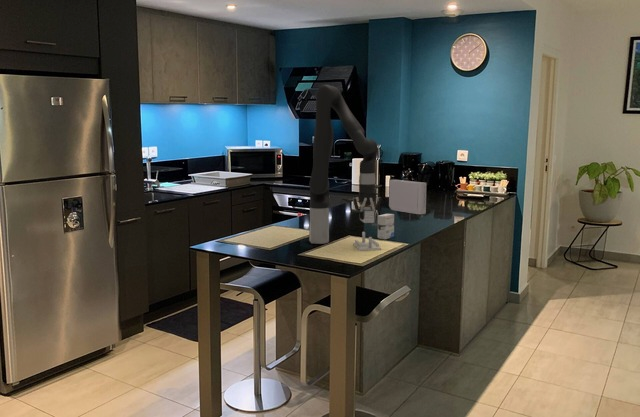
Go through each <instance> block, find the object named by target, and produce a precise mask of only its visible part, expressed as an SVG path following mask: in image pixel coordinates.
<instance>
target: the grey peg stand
mask: <svg viewBox="0 0 640 417" xmlns="http://www.w3.org/2000/svg"><path fill="white" fill-rule="evenodd" d="M361 233H362V234H361V235H362V236H361V241H359V240H357V239H355V240H354V241H353V243H352V244H353V246H354V247H355V248H356V249H357V250H358V251H364V252H365V251H382V247H381V246H380V243H378V241H377V240H375V239H373V237H372V236H368V241H366V231H362V232H361Z"/></svg>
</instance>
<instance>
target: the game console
mask: <svg viewBox="0 0 640 417" xmlns="http://www.w3.org/2000/svg"><path fill="white" fill-rule="evenodd" d="M388 183H389V184H388V186H389V187H388V188H389V190H388V192H389V193H388V207H389V209H390V210H391V211H397V212H403V213H409V214H414V215H415V214H416V215H425V214H426V212H427V211H426V210H427V182H421V181H411V180H401V179H389V182H388Z"/></svg>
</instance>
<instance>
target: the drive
mask: <svg viewBox="0 0 640 417" xmlns="http://www.w3.org/2000/svg"><path fill="white" fill-rule="evenodd" d="M362 212H363V220H361V219H360V218H359V220H360V221H361V222H362V223H364V224H370V223H371V224H372V223H373V224H374V223H375V218H374V209H372V208H370V207H364V208H363V211H362Z"/></svg>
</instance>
